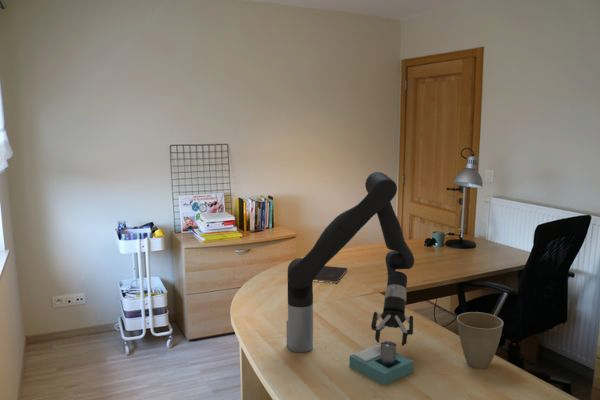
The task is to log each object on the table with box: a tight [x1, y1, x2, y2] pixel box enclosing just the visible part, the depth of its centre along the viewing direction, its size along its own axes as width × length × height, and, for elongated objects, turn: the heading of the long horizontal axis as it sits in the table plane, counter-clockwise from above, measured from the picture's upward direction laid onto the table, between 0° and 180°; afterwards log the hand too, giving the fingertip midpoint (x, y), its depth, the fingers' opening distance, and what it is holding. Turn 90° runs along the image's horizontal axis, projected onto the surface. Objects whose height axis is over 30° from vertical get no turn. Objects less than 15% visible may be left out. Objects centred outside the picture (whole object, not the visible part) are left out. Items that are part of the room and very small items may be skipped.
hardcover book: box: [314, 265, 348, 284], centre depth 273 cm, size 16×23×2 cm
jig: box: [349, 343, 414, 387], centre depth 172 cm, size 16×14×5 cm
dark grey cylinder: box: [380, 340, 397, 368], centre depth 169 cm, size 5×5×10 cm
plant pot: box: [456, 311, 504, 370], centre depth 175 cm, size 15×15×16 cm
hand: (390, 343), depth 174 cm, fingers open, 8 cm apart
